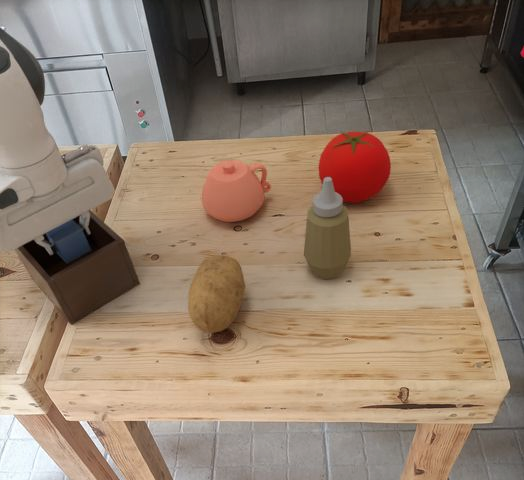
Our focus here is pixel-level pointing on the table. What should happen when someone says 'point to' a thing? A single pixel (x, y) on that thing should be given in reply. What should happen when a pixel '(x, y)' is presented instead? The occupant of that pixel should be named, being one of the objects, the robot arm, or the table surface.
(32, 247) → the chest
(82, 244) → the block
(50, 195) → the robot arm
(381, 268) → the table surface
